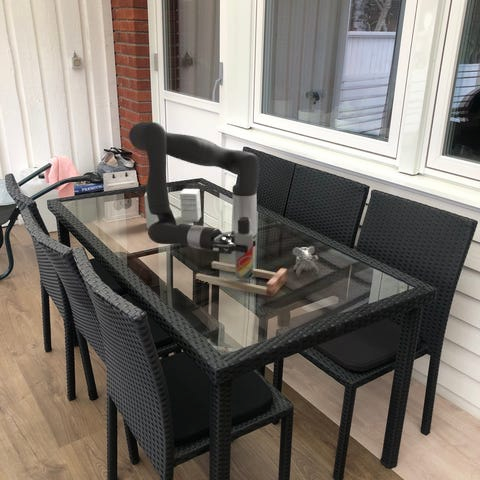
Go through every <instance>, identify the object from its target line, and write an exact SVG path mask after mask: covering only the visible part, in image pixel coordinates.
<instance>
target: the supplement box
mask: <svg viewBox="0 0 480 480" xmlns="http://www.w3.org/2000/svg"><path fill="white" fill-rule="evenodd" d="M179 201H180V213H181V214H180V216H181V222H191V223H193V222H197V223H198V222H199V221H200V219H201V217H202V210H201V209H202V208H201V207H202V205H201V192H200V188H183V189H182V190H181V191H180V193H179Z"/></svg>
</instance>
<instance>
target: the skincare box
mask: <svg viewBox="0 0 480 480" xmlns="http://www.w3.org/2000/svg"><path fill="white" fill-rule="evenodd" d="M143 196H144V210H145V222H146V223H145V224H146V225H145V226H146V228H147V229H149V227H150V226H151V225H152V224H153V223H155V222H158V221H159V220H158V217H157V215H153V214H151V213H150V211H149V206H148V200H147V193H146V192H145V193H144V195H143Z"/></svg>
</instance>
